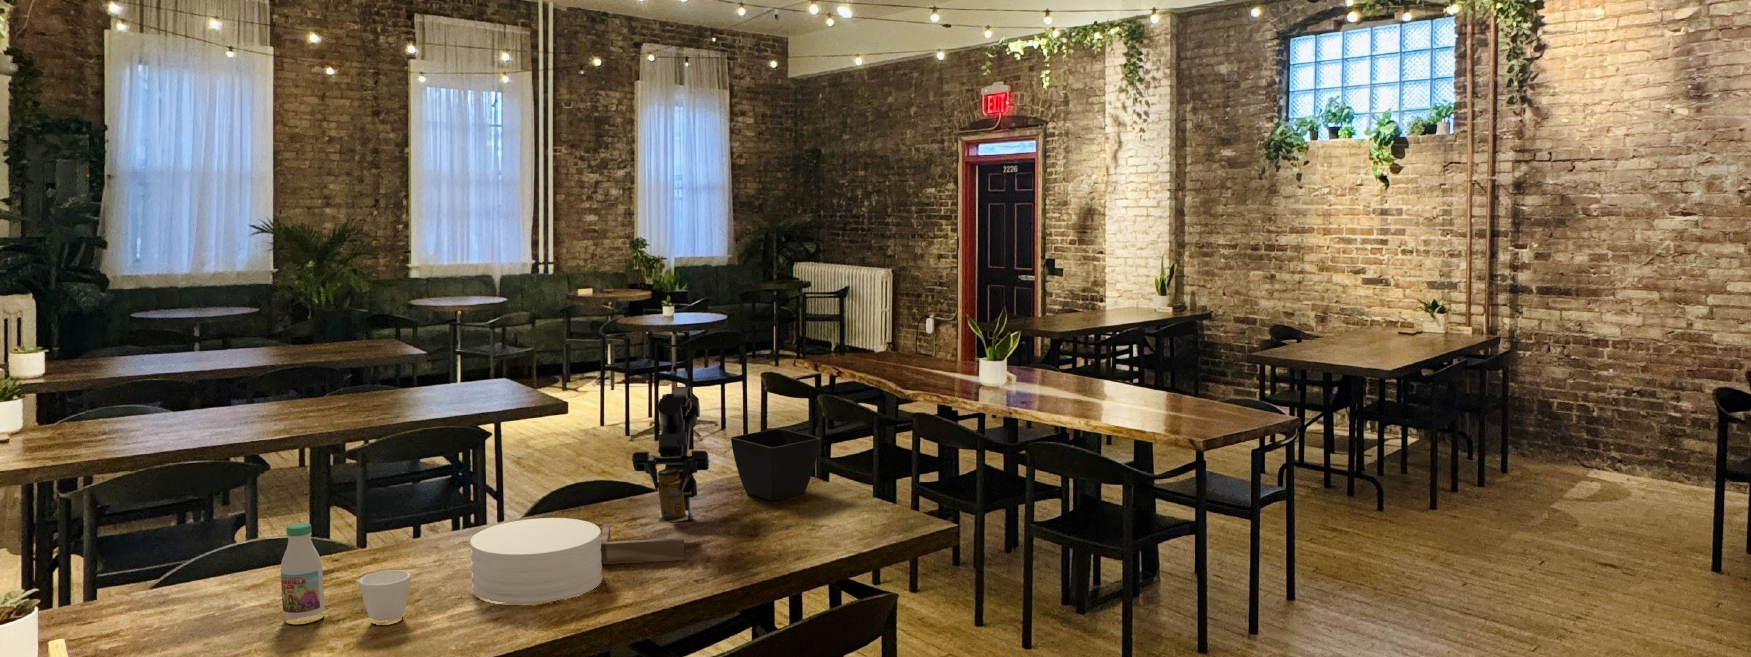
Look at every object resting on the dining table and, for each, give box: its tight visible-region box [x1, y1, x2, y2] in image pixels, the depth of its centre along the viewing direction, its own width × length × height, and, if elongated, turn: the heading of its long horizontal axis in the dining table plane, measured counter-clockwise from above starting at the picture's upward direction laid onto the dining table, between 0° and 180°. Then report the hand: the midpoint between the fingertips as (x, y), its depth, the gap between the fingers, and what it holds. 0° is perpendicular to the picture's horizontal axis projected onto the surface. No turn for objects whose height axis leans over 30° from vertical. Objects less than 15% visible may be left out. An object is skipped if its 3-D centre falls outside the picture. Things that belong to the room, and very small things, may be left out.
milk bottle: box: [280, 522, 326, 618], centre depth 242 cm, size 8×8×20 cm
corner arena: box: [600, 523, 685, 565], centre depth 288 cm, size 18×20×5 cm
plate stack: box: [469, 517, 603, 604], centre depth 264 cm, size 28×28×12 cm
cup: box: [358, 569, 412, 621], centre depth 242 cm, size 10×10×9 cm
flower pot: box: [730, 428, 821, 502], centre depth 342 cm, size 19×19×17 cm
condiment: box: [657, 468, 688, 524], centre depth 295 cm, size 7×8×12 cm
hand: (668, 490), depth 294 cm, fingers closed on condiment, 6 cm apart
